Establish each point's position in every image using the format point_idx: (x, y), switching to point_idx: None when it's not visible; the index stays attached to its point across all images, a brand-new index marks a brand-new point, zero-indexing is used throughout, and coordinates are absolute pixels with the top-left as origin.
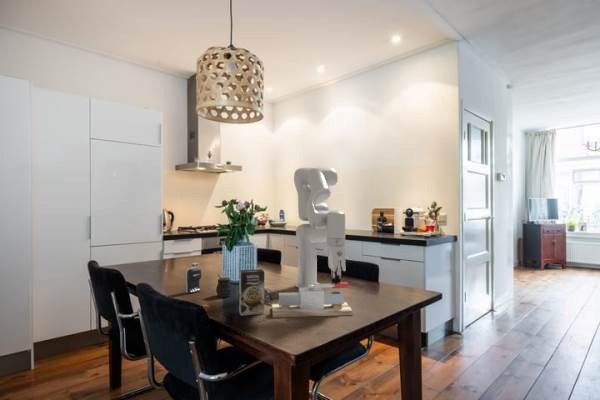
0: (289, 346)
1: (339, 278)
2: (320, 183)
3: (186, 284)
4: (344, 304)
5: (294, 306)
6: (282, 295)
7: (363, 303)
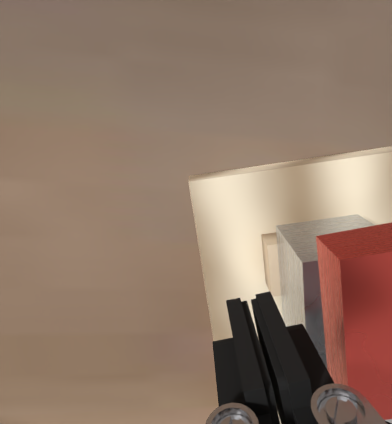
0: None
1: (308, 386)
2: None
3: None
4: (253, 196)
5: None
6: None
7: (108, 24)
